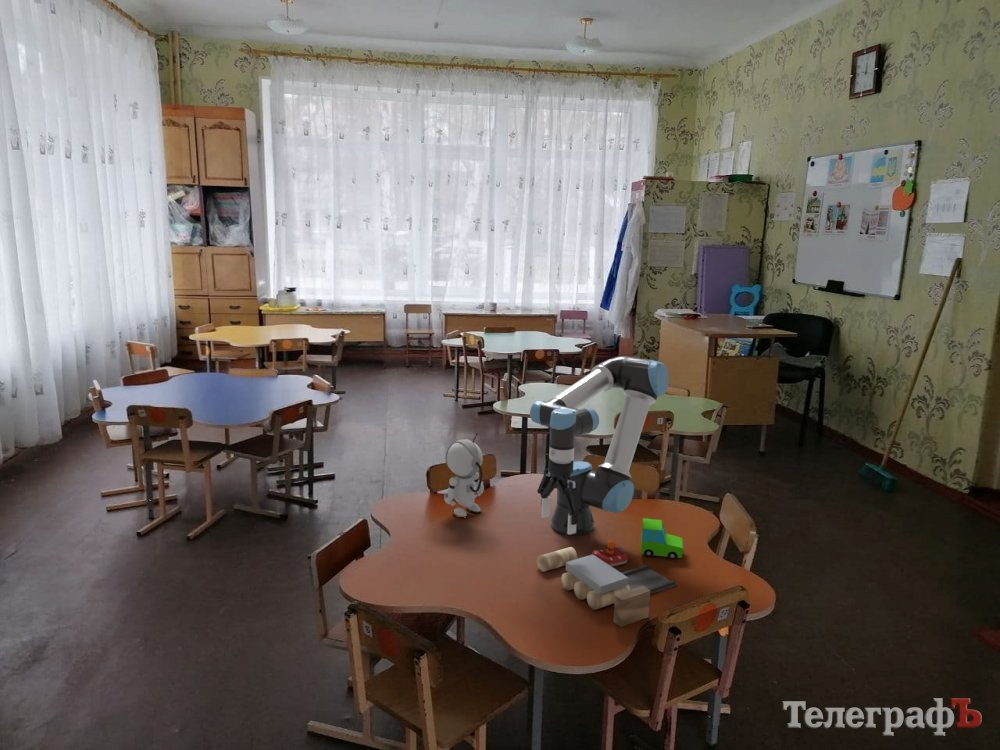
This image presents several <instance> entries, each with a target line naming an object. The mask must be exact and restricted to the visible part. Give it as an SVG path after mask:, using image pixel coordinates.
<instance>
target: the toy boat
mask: <svg viewBox="0 0 1000 750" xmlns="http://www.w3.org/2000/svg"><path fill="white" fill-rule="evenodd" d="M616 545H617V544H616V541H614V540H610V539H609V540H607V548H604V549H599V550H598V549H594V550H593V551H592V552H591V553H592V554H593V555H594V556H596V557H597V558H599V559H600V560H602V561H604V562H605V563H607V564H608V565H610V566H611V567H613V568H614V567H617V566H621V565H625V564H626V563H628V560H629V555H628V552H627V550H625V549H624V548H623V547H616ZM592 554H591V555H592Z"/></svg>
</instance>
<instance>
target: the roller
mask: <svg viewBox="0 0 1000 750" xmlns="http://www.w3.org/2000/svg"><path fill="white" fill-rule="evenodd" d="M575 559H578V554H577V551H576V550H575V548H574V547H572V546H570V547H565V548H563V549H562V548H561V549H559V550H555V551H551V552H548V553H544V554H541V555H538V556H537V558H536V564H537V565H536V566H537V568H538V569H539V571H541V572H542V573H543V572H544V573H545V572H549V571H552V570H554V569H558V568H561V567H566V562H568V561H572V560H575Z"/></svg>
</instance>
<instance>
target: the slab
mask: <svg viewBox="0 0 1000 750" xmlns="http://www.w3.org/2000/svg"><path fill="white" fill-rule="evenodd" d="M565 571H566V572H569V573H571V574H572V575H573V576H575V577H576V578H578V579H579V580H580V581H582V582H583V583H585V584H586V585H587V586H589V587H590V588H592V589H593V590H594V591H596V592H597V593H599V594H600V595H601V594H604V593H607V592H610V591H613V590H616V589H619V588H622V587H625V586H628V577H627V576H625V575H624V574H622V572H620V570H617V569H616V568H614V566H613V567H611V566H610V565H608V564H607V563H605V562H604V561H602V560H600V559H599V558H597V557H596V556H594V555H593V554H589V555H586V556H582V557H579V558H577V559H575V560H572V561H568V562H566V565H565Z"/></svg>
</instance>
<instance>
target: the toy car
mask: <svg viewBox="0 0 1000 750" xmlns="http://www.w3.org/2000/svg"><path fill="white" fill-rule="evenodd" d="M663 523H664V522H663V520H662V519H653V518H646V517H645V518H642V526H641V539H640V540H641V541H640V554H641V555H643V556H644V557H645V558H649V559H650V558H652V557H653V556H657V557H667V558H668V559H669V560H670V561H675V560H677V559H679V558H680V559H682V558H683V554H684V546H683V545H684V540H683V538H682V537H681V536H677V535H673V534H669V533H667V531H666V528H665V527H664V524H663Z"/></svg>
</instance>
